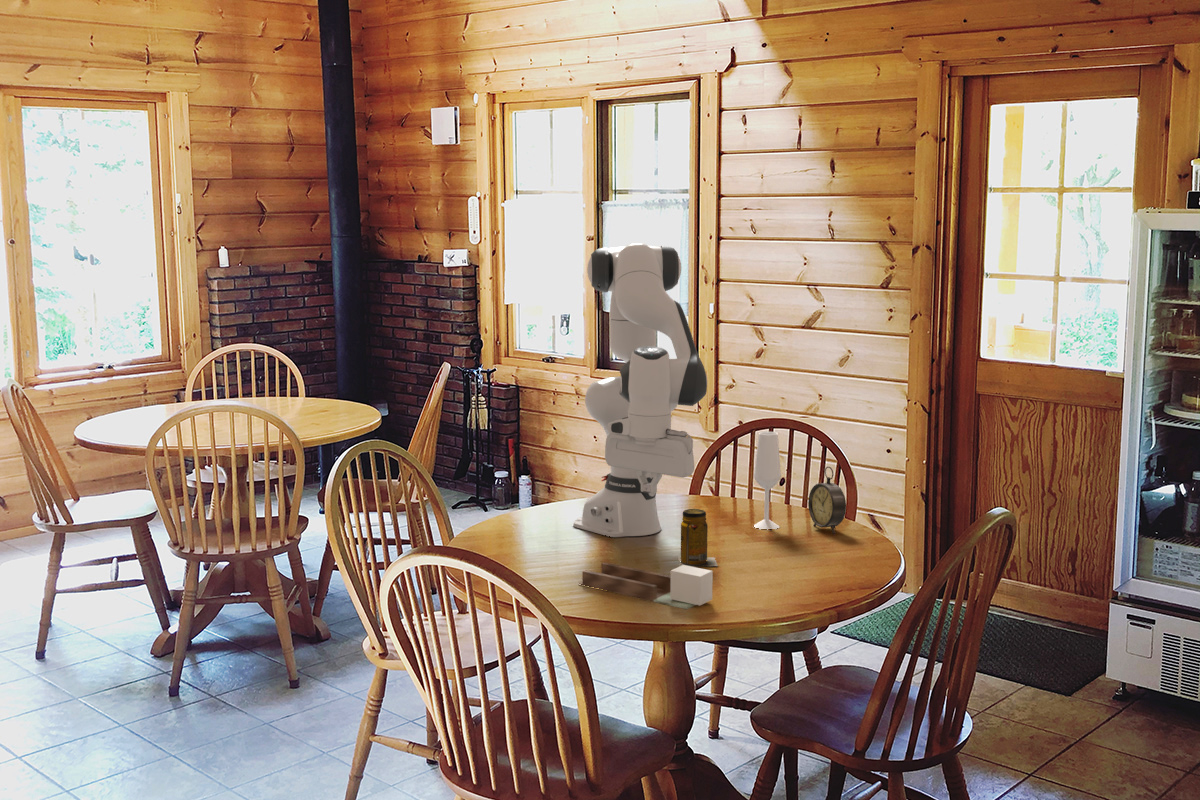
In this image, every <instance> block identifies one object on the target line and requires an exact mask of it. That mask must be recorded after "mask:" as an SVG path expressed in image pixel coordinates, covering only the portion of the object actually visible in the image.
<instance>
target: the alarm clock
mask: <svg viewBox="0 0 1200 800" xmlns="http://www.w3.org/2000/svg"><path fill="white" fill-rule="evenodd" d="M827 469H830V470H831V477H828V476H827ZM824 476H825V477H826V482H822V483H821V482H817V483H816V484H815V485H814V486H812V488H811V490H810V492H809V494H808V499H807V501H808V504H807V505H808V507H807V508H808V512H809V515H810V518H811V520H812V521H813V527H814V526H815V527H819V528H830V529H831V532H832V534H833V535H836V531H835V529H837V528H836V527H837V526H839V525H840V524H842V522H843V521H844V519H845V516H846V512H847V501H846V497H845V493H844V491H843V489H841V487H840V486H839V485H837V484H836V483H833V482H831V480H833V478H834V470H833V468H832V467H831V466H826V467H825V469H824Z"/></svg>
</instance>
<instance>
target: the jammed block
mask: <svg viewBox="0 0 1200 800" xmlns="http://www.w3.org/2000/svg"><path fill="white" fill-rule="evenodd" d="M670 576H671V586H670V599H672V600H677V601H681V602H686V603H690V604H695V606H702V605H704V604H707V603H708V602H710V601H712V600H713V570H710V569H705V568H700V567H691V566H686V565H682V566H680V565H679V566H677V567H675V568H673V569H672V570H670Z"/></svg>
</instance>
